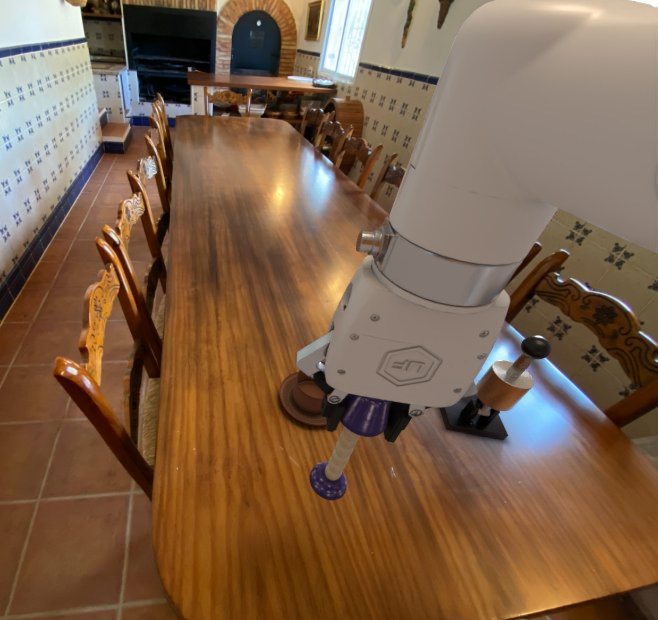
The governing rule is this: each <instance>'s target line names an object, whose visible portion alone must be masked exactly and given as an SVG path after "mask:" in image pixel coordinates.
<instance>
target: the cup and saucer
mask: <svg viewBox="0 0 658 620" xmlns="http://www.w3.org/2000/svg"><path fill="white" fill-rule="evenodd" d="M324 394H325V393H324V392H323V391H322V390H321V389H320V388H319V387H318V386H317V385H316V384H315V383H314V381H313V378H312V377H310V376H307V375H306V374H305V373H303V372H302V371H301V370H299V371H296V372H292V373H290V374H289V375H287V376H286V377H285V378H284V379H283V380H282V382H281V384H280V386H279V399H280V403H281V405H282V407H283V408H284V410H285V411H286V412H287V413H288V414H289V415H290V416H291V417H292V418H293V419H295V420H297V421H298V422H300V423H303V424H306V425H309V426H315V427H321V426H322V427H323V426H327V422H326V417H322V416H321V402H322V399H323V397H324Z"/></svg>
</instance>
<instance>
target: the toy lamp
mask: <svg viewBox="0 0 658 620" xmlns="http://www.w3.org/2000/svg"><path fill="white" fill-rule="evenodd" d="M390 403H391V401H389V400H383V399H377V398H371V397H366V396H360V395H355V394H350V393H349V394H348V395H347V396H346V397H345V410H344V413H343V415H342V417H341V420H340V423H341V424H342V425H343V427H342V431H341V432H340V433H339V436H338V440H336V442H335V445H334V449H333V450H332V452H331V456H330V457H329V458H328V459H329V460H328V461H322V462H318V463H317V464H315V465H314V466H313V467H312V469H311V470H310V472H309V476H308V477H309V478H308V480H309V484H310V487H311V489H312V490H313V492H314V493H315V494H316V495H317V496H319V497H320V498H321V499H324V500H327V501H337V500H340V499H342V498H343V497H344V496H345V494H346V492H347V488H348V481H347V480H348V479H347V477H346V475H345V473H344V470H345V468H346V466H347V465H346V464H348V462H349V460H350V456H351V455H353V452H354V448H355V447H357V446H356V445H357V444H358V442H359V439H360V438H361V437H364V438H374V437H375V438H376V437H377V436H380V435H381V434H384V430H385V429H386V427H387V424H388V419H389V411H390Z"/></svg>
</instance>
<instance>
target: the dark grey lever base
mask: <svg viewBox="0 0 658 620" xmlns="http://www.w3.org/2000/svg"><path fill="white" fill-rule="evenodd" d="M480 402H481V400H480V399H479V398H478V397H477V395H476V394H475V395H473V396H469V397H464V398H461V399H460V400H459V401H458V402H457V403H455V404H454V405H452V406H448V407H439V410H440V413H441V416H442V420H443V422H444V425H445V428H446V430H448V431H454V432H458V433H465V434H470V435H475V436H480V437H485V438H492V439H497V440H501V441H502V440H503V441H504V440H505V439H507V438H508V437H509V433H508V431H507V429H506V428H505V425H504V423H503V421H502V418H501V417H500V415H499V414H500V413H501V411H498V410H495V409H493V408H491V410H490V415H489V416H481V415H476V413H477V412H478V410H479V409H480V408H479V405H478V404H479V403H480Z"/></svg>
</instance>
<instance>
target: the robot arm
mask: <svg viewBox="0 0 658 620" xmlns="http://www.w3.org/2000/svg"><path fill="white" fill-rule="evenodd" d="M417 135H418V136H417V138H416V141H415V144H414V146H413V149H412V152H411V155H410V158H409V160H408V163H407V165H406V169H405V171H404V174H403V177H402V180H401V182H400V185H399V187H398V191H397V193H396V196H395V198H394V200H393V201H394V202H393V204H392V207H391V210H390V213H389V216H385V217H384V219H383V223H382V225H380V226H379V228H378V229H373V230H371V231H370V230H369V231H368V230H360V231H359V232H358V235H357V238H356V244H355V251H356V252H358V253H366V254H367V255H366V256H365V257H364V258H363V260H362V261H361V263H360V265H358V268H357V269H356V271H355V272H354V273H353V276H352V277H351V279H350V280H349V282H348V284H347V286H346V288H345V290H344V292H343V294H342V295H341V297H340V300H339V302H338V304H337V306H336V309H335V311H334V314H333V315H332V318H331V320H330V323H329V326H328V328H327V331H326V333H325V334H323V335H322V336H321V337H318V338H317V339H315V340H314V341H312V342H311V343H309V344H307V345H306V346H304V347H302V348H301V349H299V350H298V351H296V353H295V361H294V362H295V368H296V369H298V370H299V371H300V370H301V371H302V372H303V373H305V374H306V375H307V376H310V377H312V378H313V381H314V383H315V384H316V385H317V386H318V387H319V388H320V389H321V390H322V391H323V392H324V393H325V394H324V397H323V399H322V402H321V416H322V417H326V422H327V425H326V432H330V433H334V432H336V430H337V428H338V426H339V424H340V423H341V421H340V420H341V417H342V415H343V413H344V410H345V397H346V396H347V395H348V394H349V393H350V394H355V395H360V396H366V397H371V398H377V399H383V400H389V401H391V403H390V411H389V419H388V424H387V427H386V429H385V430H384V432H383V436H384V440H385V441H386V442H387V443H395V442H396V440H397V439H398V438H399V436H400V434H401V433H402V432H403V431H404V430H406V428H407V427H408V425H409V423H410V422H411V421H412V419H413V418H414V419H415V418H421V417H423V416H424V415H425V412H426V410H427V409H432V408H440V407H448V406H452V405H454V404H455V403H457V402H458V401H459V400H460V399H461V398H464V397H469V396H473V395H475V394H477V392H478V390H477V387H476V382H475V380H476V378H477V377H478V375H479V373H480V372H481V370H482V368H483V367H484V365H485V363H486V361H487V359H488V358H489V356H490V354H491V352H492V350H493V349H494V347H495V345H496V342H497V341H498V338H499V335H500V333H501V330H502V327H503V325H504V322H505V320H506V317H507V314H508V310H509V307H510V304H511V297H510V295H509V294H508V293H507V291H506V290H505V288H506V287H507V286H508V284H509V282H510V281H511V280H512V278H513V276H514V275H515V273H516V272H517V270H518V269H519V267H520V266H521V265H522V263H523V261H524V260H525V258H526V257H527V255H529V253H530V251H531V250H532V248H533V247H534V245H535V244H536V242H537V241H538V239H539V238H540V236H541V235H542V233H543V232H544V231H545V229H546V228H547V226H548V225H549V223H550V221H551V220H552V219H553V217H554V215H555V214H556V213H557V211H558V210H559V209H560V210H562V211H564V212H565V213H568V214H570V215H572V216H574V217H576V218H579V219H581V220H582V221H585V222H587V223H589V224H591V225H593V226H594V227H597V228H599V229H601V230H603V231H605V232H607V233H609V234H610V235H613V236H615V237H618V238H620V239H622V240H624V241H627V242H628V243H631V244H633V245H636V246H638V247H640V248H642V249H646V250H648V251H651V252H653V253H656V254H658V6H653V5H652V4H648V3H645V2H640V1H636V0H490V1H489V2H488V1H487V2H486V3H484V4H483V5H481V6H480V7H478V8H476V9H475V10H474V11H473V12H471V14H470V15H469V16H468V17H467V18H466V20H465V21H464V22H463V24H461V26H460V28H459V29H458V31H457V33H456V34H455V36H454V39H453V41H452V43H451V46H450V49H449V51H448V53H447V56H446V59H445V61H444V64H443V67H442V70H441V72H440V74H439V78H438V80H437V83H436V86H435V89H434V91H433V94H432V97H431V99H430V101H429V105H428V108H427V111H426V113H425V116H424V119H423V122H422V124H421V127H420V130H419V133H418V134H417Z"/></svg>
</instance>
